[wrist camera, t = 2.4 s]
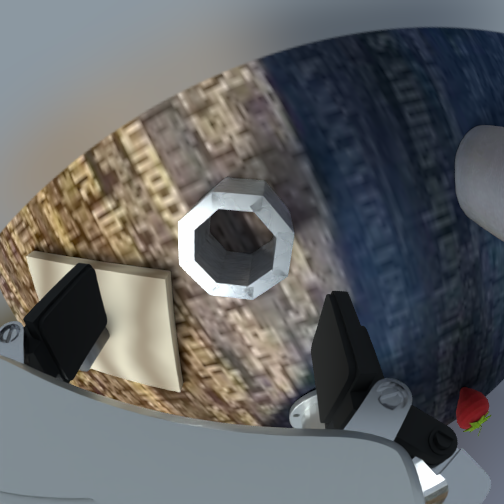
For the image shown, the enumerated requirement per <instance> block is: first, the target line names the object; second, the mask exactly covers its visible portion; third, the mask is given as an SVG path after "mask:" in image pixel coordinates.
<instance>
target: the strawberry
mask: <svg viewBox="0 0 504 504" xmlns="http://www.w3.org/2000/svg"><path fill="white" fill-rule="evenodd" d="M488 409H489V403H488V399H487V398H486V397H485V396H484V395H483V394H482V393H480V392H478V391H476V390H474V389H470V388H467V387H463V388H462V389H461V390H460V396H459V400H458V405H457V411H456V415H457V423H458V424H459V426H460V428H463V429H466V430H465V431H463V432H466V431H469V430H471V431H473V430H474V429H476V428H479V427H480V426H481V424H482V423H484V422H485V421H487V419H488V418H489V417H490V416H491V415H490V416H488V417H486V415H487V414H488V413H489V411H488ZM485 417H486V418H485ZM481 427H482V426H481ZM471 431H470V432H471Z"/></svg>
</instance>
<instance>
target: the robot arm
mask: <svg viewBox="0 0 504 504" xmlns="http://www.w3.org/2000/svg"><path fill="white" fill-rule="evenodd" d="M24 322H25V324H26V326H25V327H23V325H22V324H21V323H20V322H17V321H13V322H9V323H6V324H5V325H3V326H2V327H1V328H0V504H481V503H482V502H483V501H484V499H485V498H486V496H487V495H488V493H489V490H490V487H491V481H490V478H489V476H488V475H487V473H485V471H484V470H483V469H482V468H481V467H480V466H479V465H478V464H477V463H476V462H475V461H474V460H473V459H472V458H471V456H469V454H468V453H467V452H466V451H465V450H464V449H463V448H462V449H460V450H459V449H458V448H457V437H456V434H455V433H454V431H453V430H452V429H451V428H450V427H448V426H447V425H445V424H443V423H442V422H440V421H438V420H436V419H435V418H433V417H431V416H429V415H428V414H426V413H424V412H423V411H421V410H419V409H418V408H416V407H414V406H413V405H411V403H412V394H411V392H410V390H409V388H408V387H407V386H406V385H405V384H404V383H402V382H401V381H399V380H396V379H392V378H386V379H384V376H383V373H382V370H381V367H380V364H379V361H378V359H377V356H376V353H375V350H374V348H373V345H372V342H371V340H370V337H369V334H368V332H367V329H366V328H365V327H364V326H361V325H360V322H359V320H358V317H357V314H356V312H355V309H354V307H353V304H352V301H351V299H350V296H349V294H348V292H344V291H332V293H331V294H327V295H326V298H325V302H324V305H323V309H322V312H321V316H320V319H319V323H318V326H317V329H316V333H315V336H314V339H313V343H312V347H311V355H312V362H313V370H314V377H315V385H316V390H314V391H312V392H309V393H308V394H306V395H304V396H302V397H301V398H300V399H299V400H297V401H296V402H295V403H294V404H293V406H292V407H291V409H290V414H289V419H290V423H291V425H292V426H293V427H294V428H275V427H261V426H248V425H237V424H228V423H220V422H213V421H206V420H200V419H194V418H188V417H183V416H178V415H173V414H168V413H163V412H159V411H155V410H150V409H146V408H142V407H139V406H135V405H131V404H128V403H124V402H121V401H117V400H114V399H111V398H108V397H105V396H102V395H99V394H96V393H93V392H90V391H87V390H84V389H82V388H79V387H76V386H74V385H71V384H69V382H70V381H71V380H73V379H74V377H75V376H76V374H77V372H78V370H79V369H80V367H81V365H82V364H83V362H84V360H85V359H86V357H87V355H88V354H89V352H90V350H91V349H92V347H93V346H94V344H95V342H96V341H97V339H98V338H99V336H100V335H101V333H102V331H103V330H104V328H105V327H106V325H107V315H106V312H105V308H104V305H103V301H102V297H101V293H100V289H99V285H98V280H97V276H96V272H95V269H94V268H93V267H92V266H91V265H90V264H85V263H78V264H76V265H75V266H74V267H73V268H72V269H71V270H70V271H69V272H68V273H67V274H66V275H65V276H64V277H63V278H62V279H61V280H60V281H59V282H58V283H57V284H56V285H55V286H54V287H53V288H52V289H51V290H50V291H49V292H48V293H47V294H46V295H45V296H44V297H43V298H42V299H41V300H40V301H39V302H38V303H37V304H36V305H35V306H34V307H33V309H32V310H31V311H30V312H29V313H28V314H27V315H26V316H25V317H24Z"/></svg>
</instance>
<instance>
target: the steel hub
mask: <svg viewBox="0 0 504 504" xmlns="http://www.w3.org/2000/svg"><path fill="white" fill-rule="evenodd" d="M218 209H226V210H237V211H248V212H255V214H256V215H257V216H258V217H259V218H260V219H261V220H262V222H263V223H264V224H265V225H266V226H267V227H268V229H269V230H270V231H271V232H272V233H273V239H272V240H270V241H269V242H268V243H266V244H265V245H264V246H262V247H261V248H260V249H258V250H257V251H255V252H254V253H253V254H252V253H242V252H232V251H227V250H226V249H225V248H224V247H223V246H222V245H221V244H220V243H219V242H218V241H217V240H216V238H215V237H214V236H213V235H212V234H211V233H210V216H211V215H212V214H213V213H214V212H215V211H217V210H218ZM178 235H179V265H180V266H181V267H182V268H183V269H184V270H185V271H186V272H187V273H188V274H189V275H190V276H191V277H192V278H193V279H194V280H195V281H196V282H197V283H198V284H199V285H200V286H201V287H202V288H203V289H204V290H205V291H207V292H208V293H209V294H210V295H216V296H224V297H233V298H242V299H251V300H253V299H255V298H256V297H258V296H259V295H261V294H262V293H264V292H265V291H267V290H268V289H270V288H271V287H273V286H274V285H276V284H277V283H279V282H280V281H282V280H283V279H285V278H286V277H287V276H288V272H289V266H290V259H291V253H292V247H293V240H294V229H293V224H292V220H291V215H290V210H289V209H288V208H287V206H286V205H285V204H284V203H283V201H282V200H281V199H280V198H279V197H278V195H277V194H276V193H275V192H274V191H273V189H272V188H271V187H270V186H269V185H268V184H267V182H266V181H265V180H254V179H243V178H231V177H225V178H224V179H223V180H222V181H221V182H220V183H219V184H217V185H216V186H215V187H214V188H213V189H212V190H211V191H209V192H208V193H207V194H206V195H205V196H204V197H203V198H202V199H200V200H199V201H198V202H197V203H196V204H195V205H194V206H193V207H192V208H191V209H190V211H189V212H188V213H187V214H186V215H185V216H184V217H183V218H182V219H181V220H180V221H179V222H178Z"/></svg>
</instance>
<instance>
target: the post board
mask: <svg viewBox="0 0 504 504" xmlns="http://www.w3.org/2000/svg"><path fill="white" fill-rule="evenodd" d="M26 257H27V261H28V265H29V269H30V272H31V276H32V279H33V282H34V286H35V289H36V292H37V295H38V298H39V301H40V300H41V299H42V298H43V297H44V296H45V295H46V294H47V293H48V292H49V291H50V290H51V289H52V288H53V287H54V286H55V285H56V284H57V283H58V282H59V281H60V280H61V279H62V278H63V277H64V276H65V275H66V274H67V273H68V272H69V271H70V270H71V269H72V268H73V267H74V266H75V265H76V264H78V263H85V264H90V265H91V266H92V267H93V268H94V269H95V272H96V276H97V280H98V285H99V289H100V293H101V297H102V301H103V305H104V308H105V312H106V315H107V325H106V327H105V328H104V330H103V331H102V333H101V335H100V336H99V338H98V339H97V341H96V342H95V344H94V346H93V347H92V349H91V350H90V352H89V354H88V355H87V357H86V359H85V360H84V362H83V364H82V365H81V367H80V370H82V371H89V369H90V368H91V369H94V370H97V371H100V372H103V373H106V374H110V375H113V376H116V377H120V378H123V379H127V380H130V381H134V382H138V383H142V384H146V385H150V386H154V387H158V388H163V389H167V390H172V391H177V392H181V388H182V385H183V379H182V372H181V365H180V358H179V351H178V343H177V334H176V326H175V316H174V306H173V294H172V282H171V271H167V270H159V269H152V268H144V267H137V266H130V265H123V264H116V263H109V262H102V261H95V260H89V259H82V258H76V257H69V256H63V255H57V254H51V253H45V252H39V251H33V252H31V253H30V254H29V255H27V256H26Z"/></svg>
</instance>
